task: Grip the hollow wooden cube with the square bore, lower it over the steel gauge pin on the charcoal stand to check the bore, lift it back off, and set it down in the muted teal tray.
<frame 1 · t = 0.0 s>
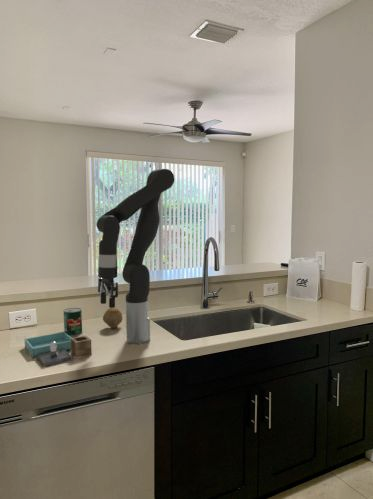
hand: (107, 305, 148), 17 cm above the worktop, tool pointing down, fingers open, 8 cm apart
gauge pin stand: (54, 359, 137), on the worktop
teal tray: (49, 348, 148), on the worktop
natural sponge: (112, 328, 175), on the worktop
hollow wooden cube: (81, 353, 142), on the worktop
canned tomato: (73, 333, 167), on the worktop
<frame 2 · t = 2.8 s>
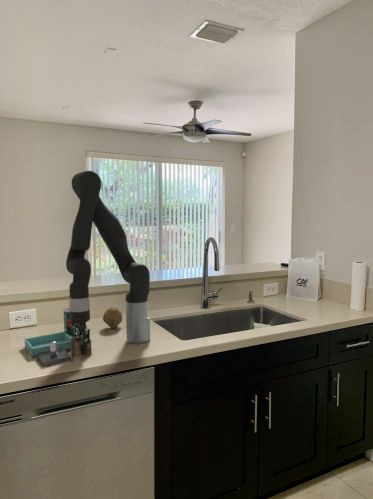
hand: (81, 351, 141), 1 cm above the worktop, tool pointing down, fingers closed on hollow wooden cube, 6 cm apart
hollow wooden cube: (81, 354, 142), on the worktop, touching gripper
everything else where it was.
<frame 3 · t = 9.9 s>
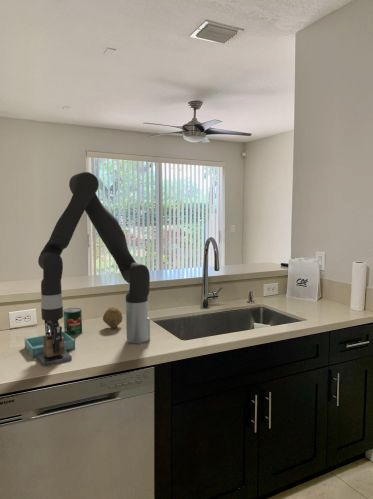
hand: (53, 349, 136), 4 cm above the worktop, tool pointing down, fingers closed on hollow wooden cube, 6 cm apart
hollow wooden cube: (54, 352, 136), point 2 cm above the worktop, touching gripper
everything else where it was.
when the fingers open (4 cm above the worktop, at t = 17.2 s): hollow wooden cube drops 2 cm, resting on teal tray.
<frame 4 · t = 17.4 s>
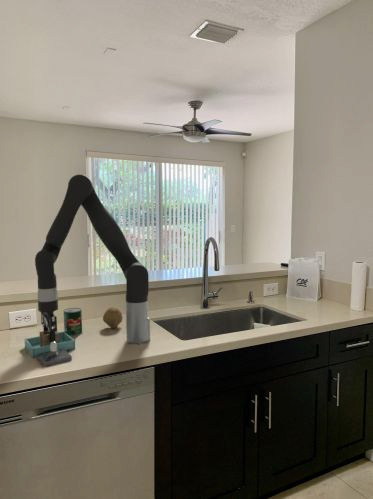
hand: (49, 338, 148), 4 cm above the worktop, tool pointing down, fingers open, 8 cm apart
hollow wooden cube: (49, 346, 148), resting on teal tray
everything else where it was.
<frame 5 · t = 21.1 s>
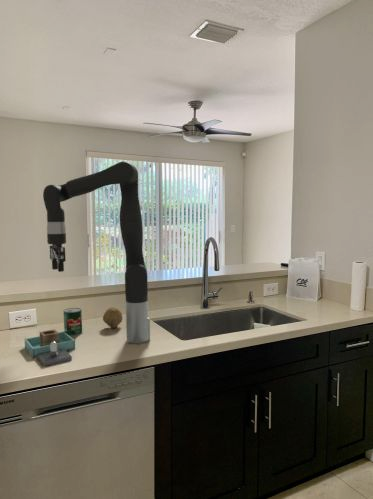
hand: (57, 270, 157), 30 cm above the worktop, tool pointing down, fingers open, 8 cm apart
nothing on the worktop moved.
at the end: hollow wooden cube inside the target area on the teal tray (0.0 cm from its centre), point 0.5 cm above the teal tray's base; hollow wooden cube tilted 0°; the gripper is holding nothing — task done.
